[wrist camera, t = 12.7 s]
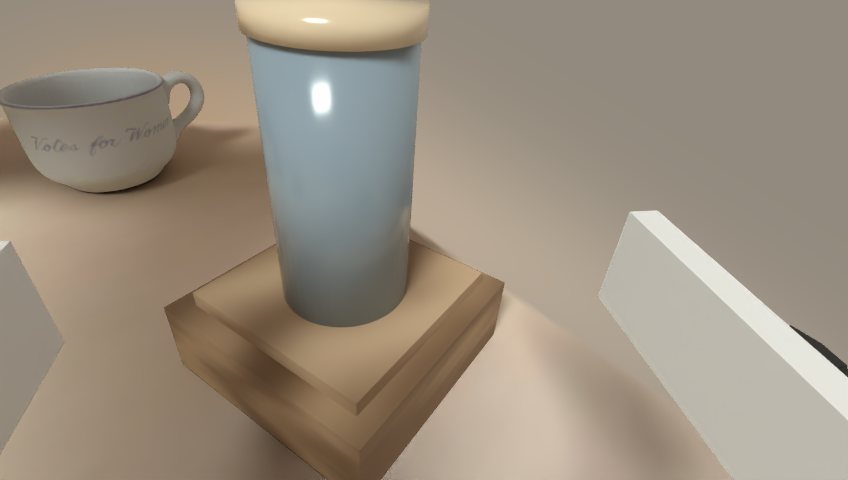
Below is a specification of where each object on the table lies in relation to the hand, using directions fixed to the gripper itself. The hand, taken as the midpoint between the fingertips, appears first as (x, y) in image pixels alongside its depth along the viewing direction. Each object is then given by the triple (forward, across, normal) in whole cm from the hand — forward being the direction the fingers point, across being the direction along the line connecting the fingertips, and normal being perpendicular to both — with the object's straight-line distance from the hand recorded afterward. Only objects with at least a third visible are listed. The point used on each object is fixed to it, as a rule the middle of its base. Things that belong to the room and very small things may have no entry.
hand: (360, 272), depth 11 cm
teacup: (+32, -17, -13) cm, 39 cm away
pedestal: (+10, 0, -13) cm, 16 cm away
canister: (+10, 0, -8) cm, 13 cm away
